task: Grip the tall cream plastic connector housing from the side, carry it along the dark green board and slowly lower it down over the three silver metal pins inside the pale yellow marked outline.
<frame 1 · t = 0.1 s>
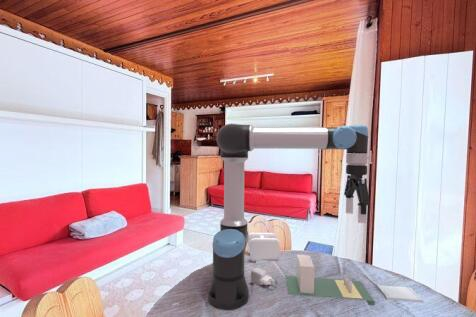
hand: (355, 217, 94), 28 cm above the table, tool pointing down, fingers open, 13 cm apart
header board: (325, 291, 91), on the table
hard drive: (398, 296, 90), on the table
cable organizer: (262, 258, 120), on the table
connector housing: (304, 285, 92), point 1 cm above the table, touching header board
power adapter: (263, 287, 94), on the table
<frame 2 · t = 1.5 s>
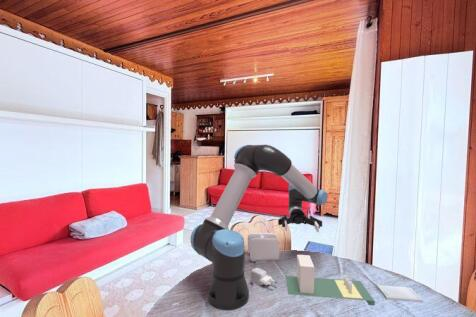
hand: (301, 228, 103), 20 cm above the table, tool horizontal, fingers open, 13 cm apart
nothing on the table moved.
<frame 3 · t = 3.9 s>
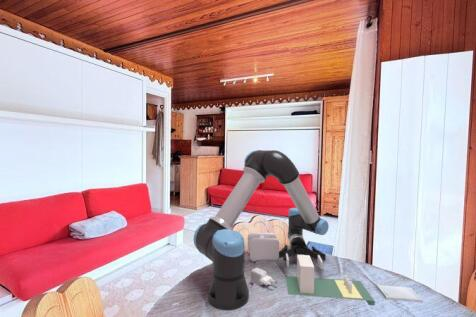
hand: (304, 264, 97), 8 cm above the table, tool horizontal, fingers open, 13 cm apart
nothing on the table moved.
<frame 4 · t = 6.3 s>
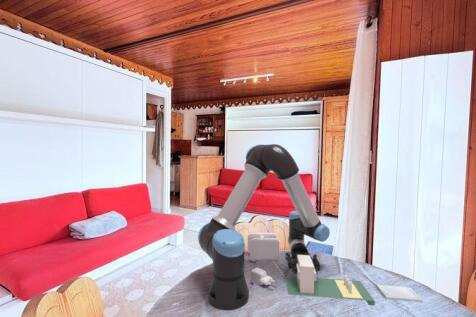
hand: (307, 276, 87), 8 cm above the table, tool horizontal, fingers closed on connector housing, 5 cm apart
connector housing: (304, 285, 92), point 1 cm above the table, touching gripper, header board
everything else where it was.
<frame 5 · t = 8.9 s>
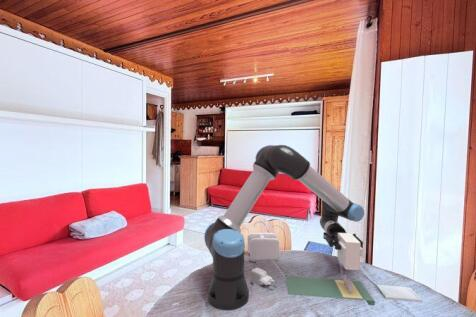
hand: (353, 252, 85), 18 cm above the table, tool horizontal, fingers closed on connector housing, 5 cm apart
connector housing: (348, 263, 90), point 11 cm above the table, touching gripper
everything else where it was.
when the fingers open (8 cm above the table, at t = 12.0 s): connector housing stays where it is, resting on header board.
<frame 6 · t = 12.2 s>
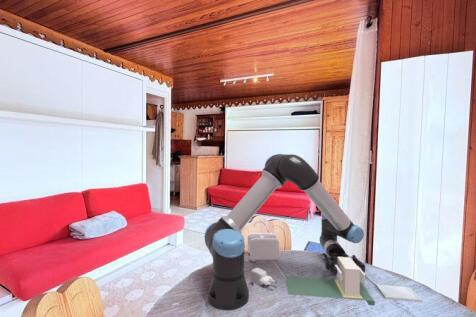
hand: (352, 277, 85), 8 cm above the table, tool horizontal, fingers open, 7 cm apart
connector housing: (347, 288, 90), point 2 cm above the table, touching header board
everything else where it was.
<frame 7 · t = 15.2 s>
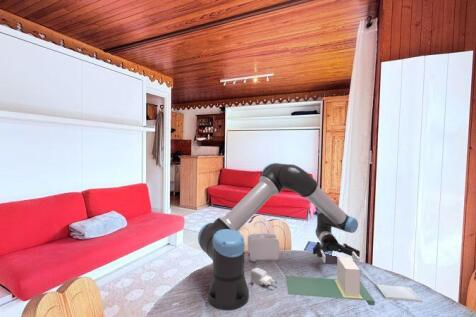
hand: (341, 260, 99), 9 cm above the table, tool horizontal, fingers open, 13 cm apart
nothing on the table moved.
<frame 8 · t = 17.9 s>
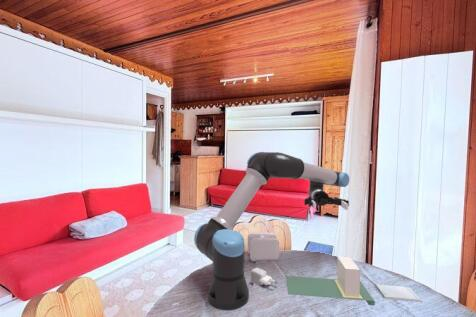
hand: (330, 206, 104), 30 cm above the table, tool horizontal, fingers open, 13 cm apart
nothing on the table moved.
at the end: connector housing 0.0 cm from the target spot on the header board, point 1.6 cm above the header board's base; connector housing tilted 0°; the gripper is holding nothing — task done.
